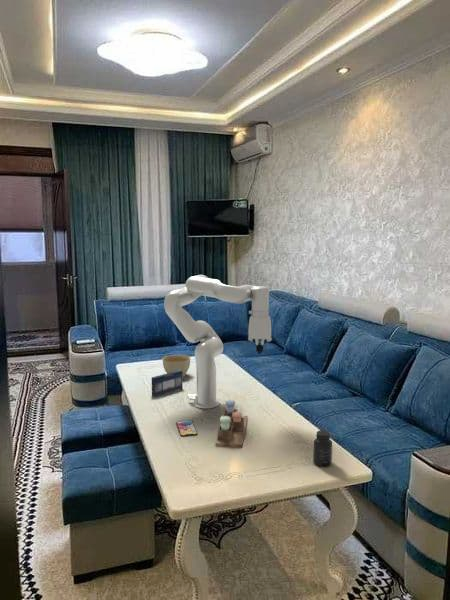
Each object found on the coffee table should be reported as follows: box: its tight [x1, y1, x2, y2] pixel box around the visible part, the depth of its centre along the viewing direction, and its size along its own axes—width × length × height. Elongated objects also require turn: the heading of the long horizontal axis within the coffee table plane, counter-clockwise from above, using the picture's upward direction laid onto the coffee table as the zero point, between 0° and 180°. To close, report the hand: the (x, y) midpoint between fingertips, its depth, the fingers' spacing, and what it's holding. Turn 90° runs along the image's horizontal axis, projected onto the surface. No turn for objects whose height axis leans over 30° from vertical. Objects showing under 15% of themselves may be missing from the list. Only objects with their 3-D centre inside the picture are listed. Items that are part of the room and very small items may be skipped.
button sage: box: [219, 415, 231, 431], centre depth 195 cm, size 4×4×6 cm
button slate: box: [225, 399, 236, 413], centre depth 213 cm, size 4×4×6 cm
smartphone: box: [175, 419, 198, 438], centre depth 207 cm, size 7×1×15 cm
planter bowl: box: [162, 354, 191, 378], centre depth 277 cm, size 16×16×11 cm
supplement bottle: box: [312, 429, 333, 468], centre depth 177 cm, size 7×7×12 cm
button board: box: [215, 408, 248, 448], centre depth 205 cm, size 10×29×5 cm, turn 173°
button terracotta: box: [232, 411, 243, 422], centre depth 204 cm, size 4×4×6 cm
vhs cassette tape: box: [151, 370, 184, 398], centre depth 251 cm, size 18×3×10 cm, turn 131°
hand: (259, 352), depth 220 cm, fingers closed
